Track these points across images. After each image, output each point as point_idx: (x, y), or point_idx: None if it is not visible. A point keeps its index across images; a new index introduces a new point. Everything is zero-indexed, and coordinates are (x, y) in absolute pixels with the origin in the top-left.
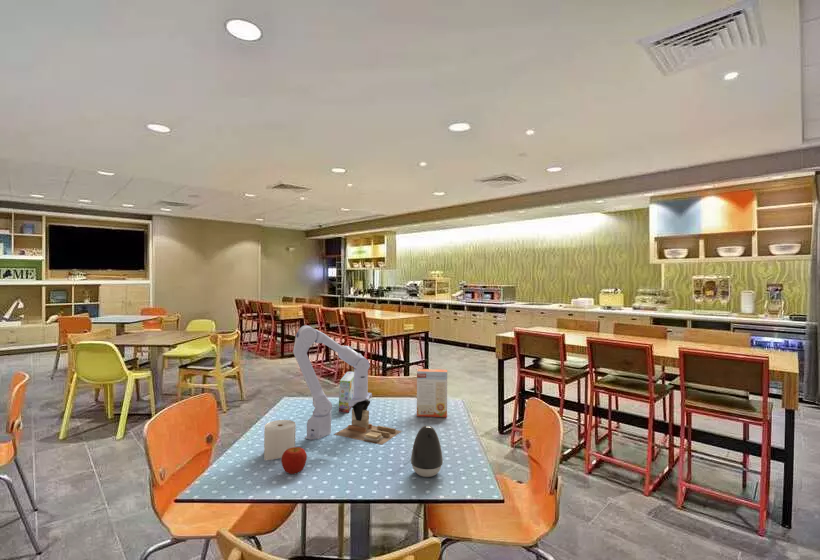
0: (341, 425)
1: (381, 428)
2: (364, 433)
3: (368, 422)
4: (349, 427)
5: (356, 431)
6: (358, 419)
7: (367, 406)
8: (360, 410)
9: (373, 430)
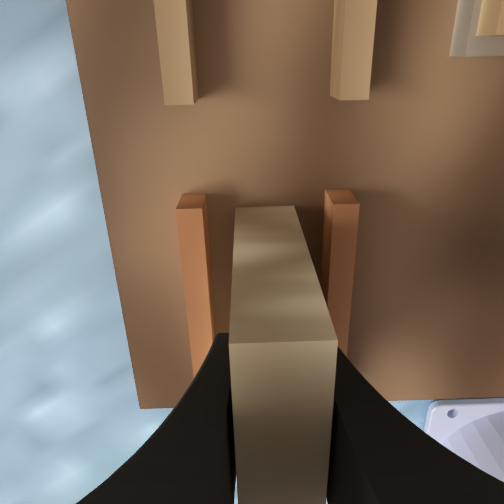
0: None
1: (190, 25)
2: (384, 169)
3: (240, 239)
4: None
5: (363, 276)
6: None
7: (162, 457)
8: (431, 440)
9: (371, 56)
